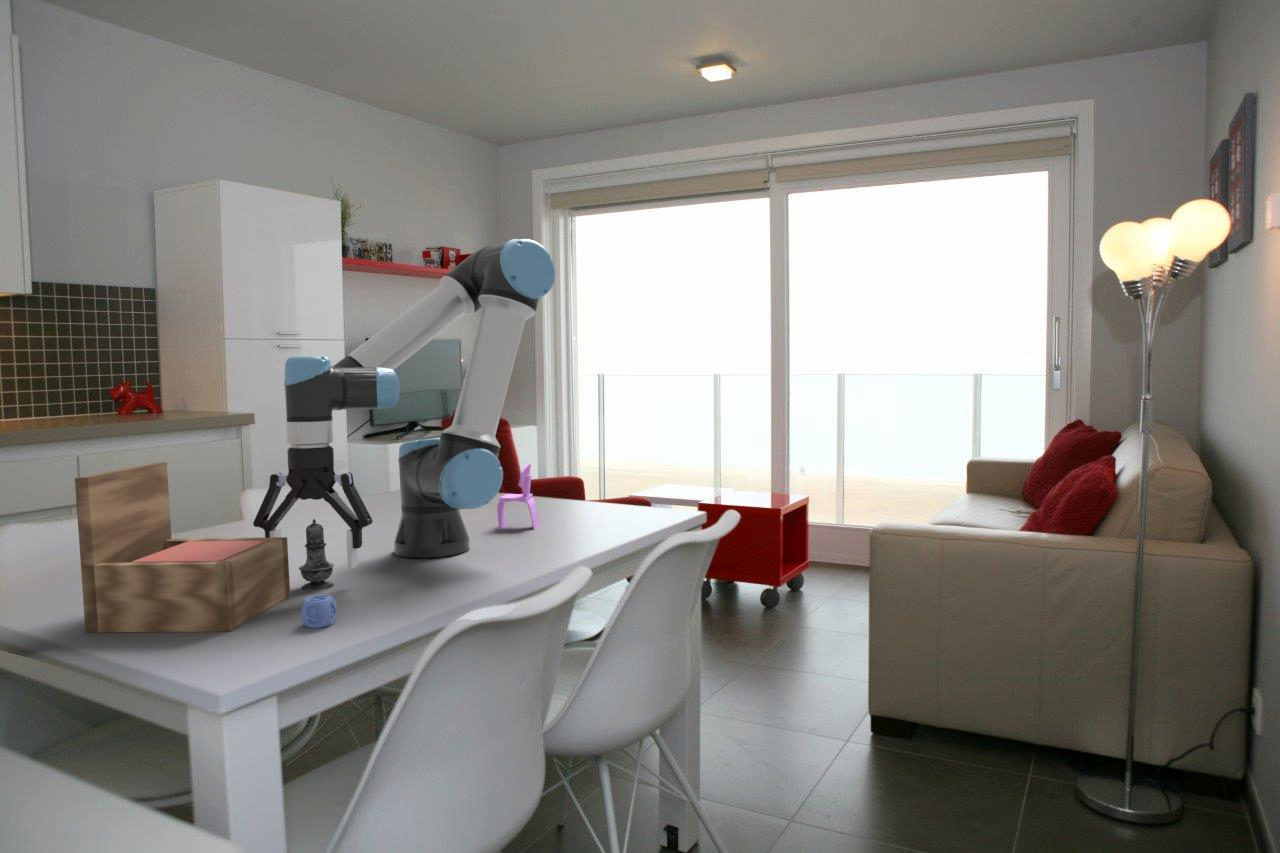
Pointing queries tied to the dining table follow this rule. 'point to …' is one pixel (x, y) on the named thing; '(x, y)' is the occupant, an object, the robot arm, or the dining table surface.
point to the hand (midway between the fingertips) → (314, 567)
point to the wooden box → (163, 563)
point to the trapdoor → (201, 551)
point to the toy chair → (519, 499)
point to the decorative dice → (319, 611)
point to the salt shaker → (316, 560)
